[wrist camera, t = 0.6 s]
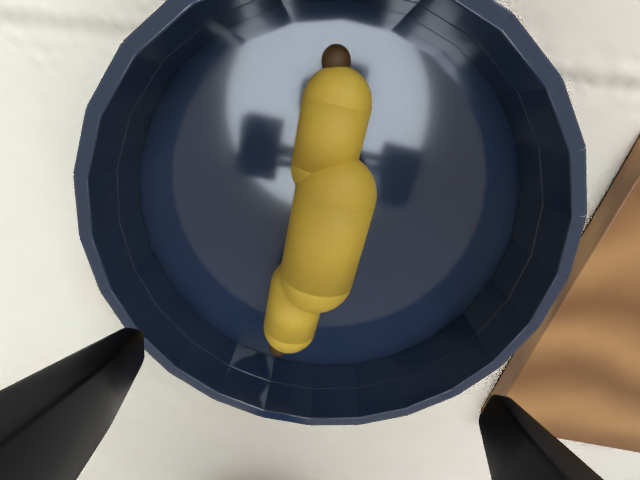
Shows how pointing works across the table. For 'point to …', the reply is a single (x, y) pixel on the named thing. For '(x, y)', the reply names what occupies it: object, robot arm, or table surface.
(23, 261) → the table surface
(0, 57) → the table surface
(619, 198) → the cutting board
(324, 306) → the banana
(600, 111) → the table surface
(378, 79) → the shallow blue dish
